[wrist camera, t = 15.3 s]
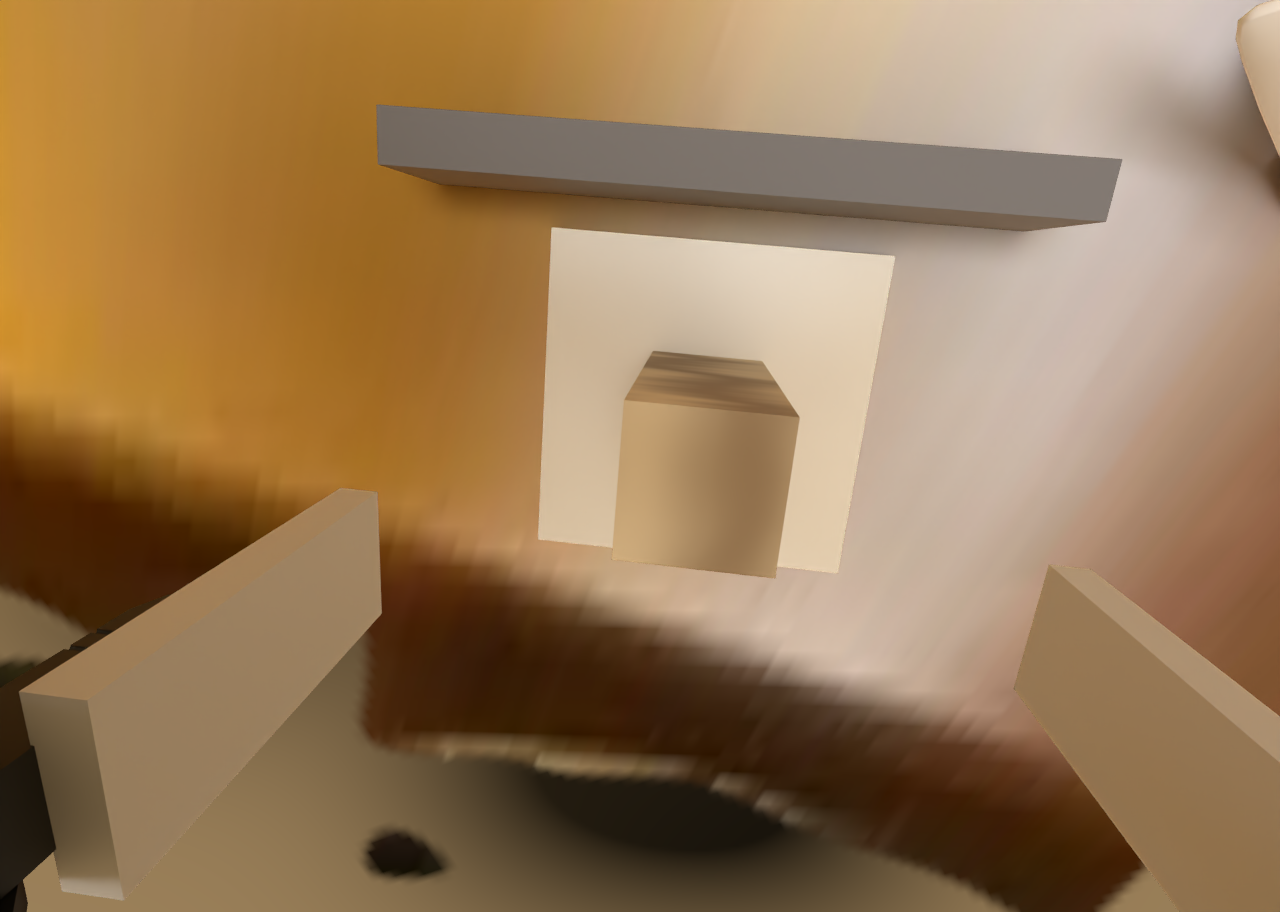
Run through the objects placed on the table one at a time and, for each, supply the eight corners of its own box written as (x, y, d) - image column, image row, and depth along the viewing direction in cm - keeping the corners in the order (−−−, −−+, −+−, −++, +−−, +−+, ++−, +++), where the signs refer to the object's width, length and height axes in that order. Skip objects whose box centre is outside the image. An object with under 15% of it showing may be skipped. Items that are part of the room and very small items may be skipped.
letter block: (643, 458, 32) (611, 565, 20) (653, 350, 31) (623, 400, 19) (747, 469, 32) (774, 584, 20) (762, 361, 30) (799, 417, 19)
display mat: (542, 531, 35) (538, 539, 34) (556, 228, 30) (551, 227, 29) (833, 564, 34) (837, 573, 33) (889, 256, 29) (895, 256, 29)
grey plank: (439, 184, 30) (378, 164, 25) (439, 136, 30) (376, 104, 24) (1024, 231, 29) (1105, 221, 23) (1036, 181, 28) (1122, 159, 22)
